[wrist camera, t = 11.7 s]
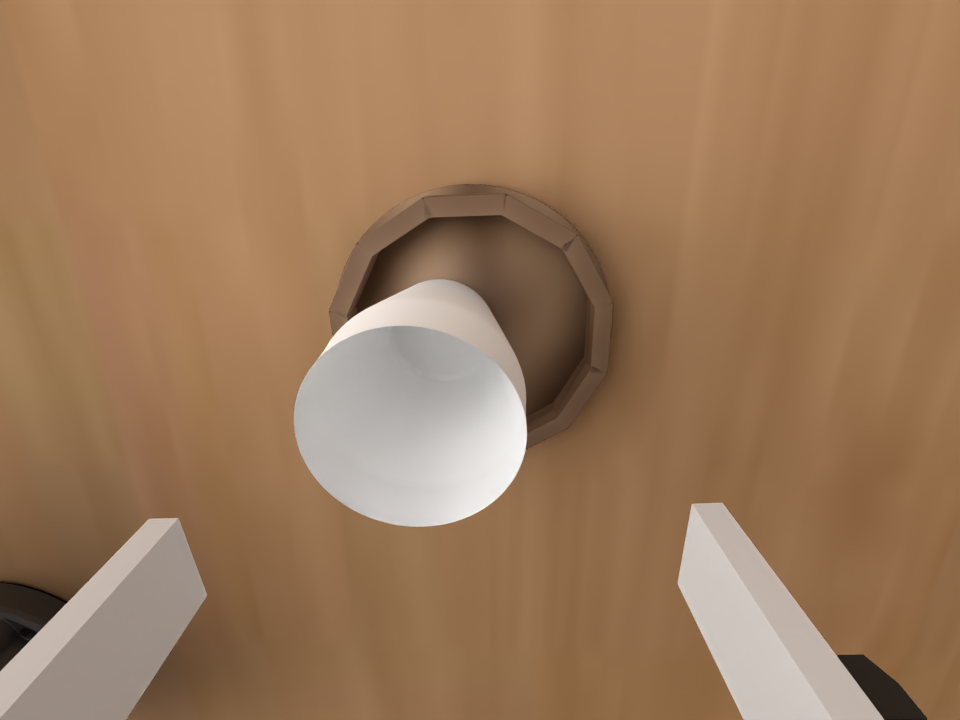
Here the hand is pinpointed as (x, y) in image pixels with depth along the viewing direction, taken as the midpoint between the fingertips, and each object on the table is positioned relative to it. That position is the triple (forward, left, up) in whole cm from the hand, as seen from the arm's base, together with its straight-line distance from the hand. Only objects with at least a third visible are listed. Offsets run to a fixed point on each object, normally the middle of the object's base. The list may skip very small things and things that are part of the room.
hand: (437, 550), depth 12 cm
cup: (-2, 0, -18) cm, 18 cm away
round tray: (0, 0, -18) cm, 18 cm away
